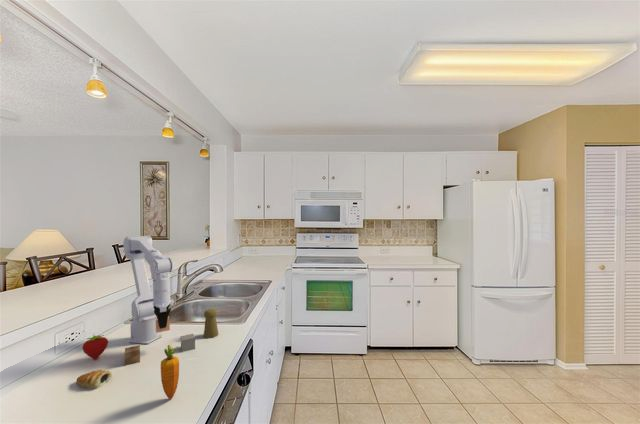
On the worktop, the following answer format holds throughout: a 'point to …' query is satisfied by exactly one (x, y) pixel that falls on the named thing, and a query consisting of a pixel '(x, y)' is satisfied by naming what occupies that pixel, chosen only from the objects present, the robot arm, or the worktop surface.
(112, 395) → the worktop surface
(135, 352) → the walnut cube
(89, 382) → the pastry
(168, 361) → the carrot
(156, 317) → the terracotta cube
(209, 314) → the pepper mill
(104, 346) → the strawberry
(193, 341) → the gray cube
